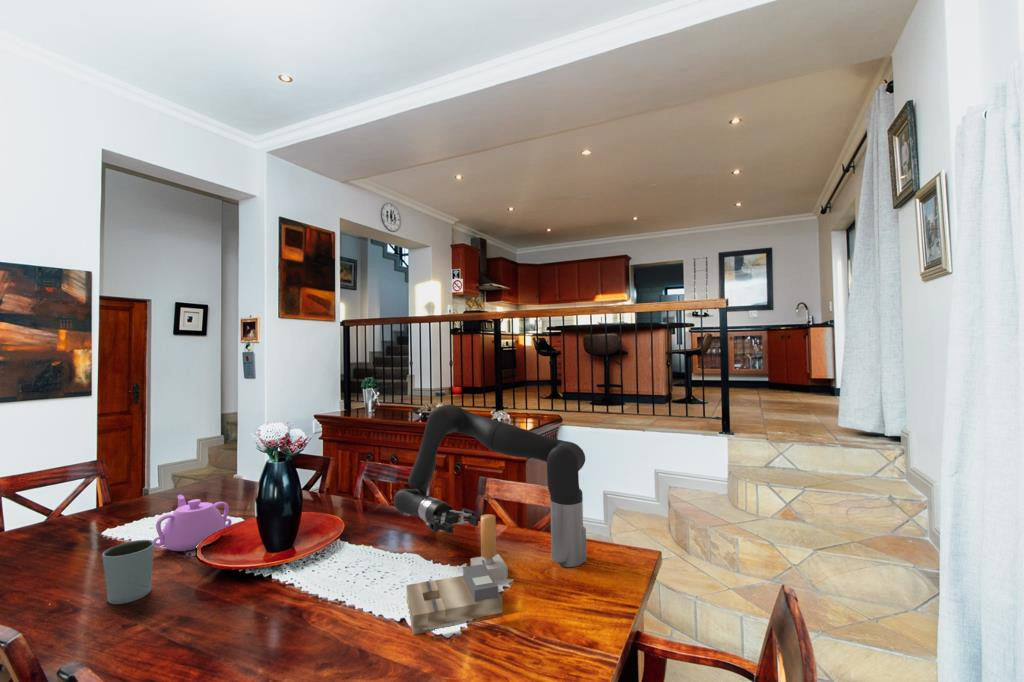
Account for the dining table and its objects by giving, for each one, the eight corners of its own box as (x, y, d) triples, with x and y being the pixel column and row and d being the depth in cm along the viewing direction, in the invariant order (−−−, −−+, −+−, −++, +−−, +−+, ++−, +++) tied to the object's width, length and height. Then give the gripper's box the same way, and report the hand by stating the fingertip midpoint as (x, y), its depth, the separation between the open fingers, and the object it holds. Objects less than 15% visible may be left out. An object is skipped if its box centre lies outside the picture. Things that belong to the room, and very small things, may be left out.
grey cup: (163, 589, 121) (163, 542, 121) (119, 609, 111) (119, 558, 111) (136, 583, 124) (137, 537, 124) (91, 602, 114) (92, 553, 115)
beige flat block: (486, 587, 119) (486, 571, 119) (502, 616, 106) (502, 598, 106) (406, 601, 113) (406, 584, 113) (413, 634, 99) (413, 615, 100)
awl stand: (498, 568, 129) (498, 553, 130) (507, 581, 122) (507, 566, 122) (470, 573, 127) (470, 558, 127) (477, 587, 119) (477, 571, 119)
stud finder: (484, 573, 118) (484, 563, 118) (498, 597, 107) (497, 585, 107) (463, 577, 116) (463, 566, 116) (474, 601, 105) (474, 589, 105)
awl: (493, 569, 127) (493, 513, 127) (498, 575, 123) (497, 518, 124) (479, 571, 126) (478, 515, 126) (483, 578, 122) (482, 520, 122)
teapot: (214, 524, 166) (214, 485, 167) (242, 538, 154) (242, 496, 154) (137, 546, 148) (138, 502, 149) (163, 563, 136) (163, 515, 136)
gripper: (414, 505, 141) (443, 519, 128) (454, 495, 150) (484, 507, 138) (414, 530, 141) (443, 546, 128) (454, 518, 150) (485, 533, 137)
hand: (464, 526), depth 133 cm, fingers open, 8 cm apart
